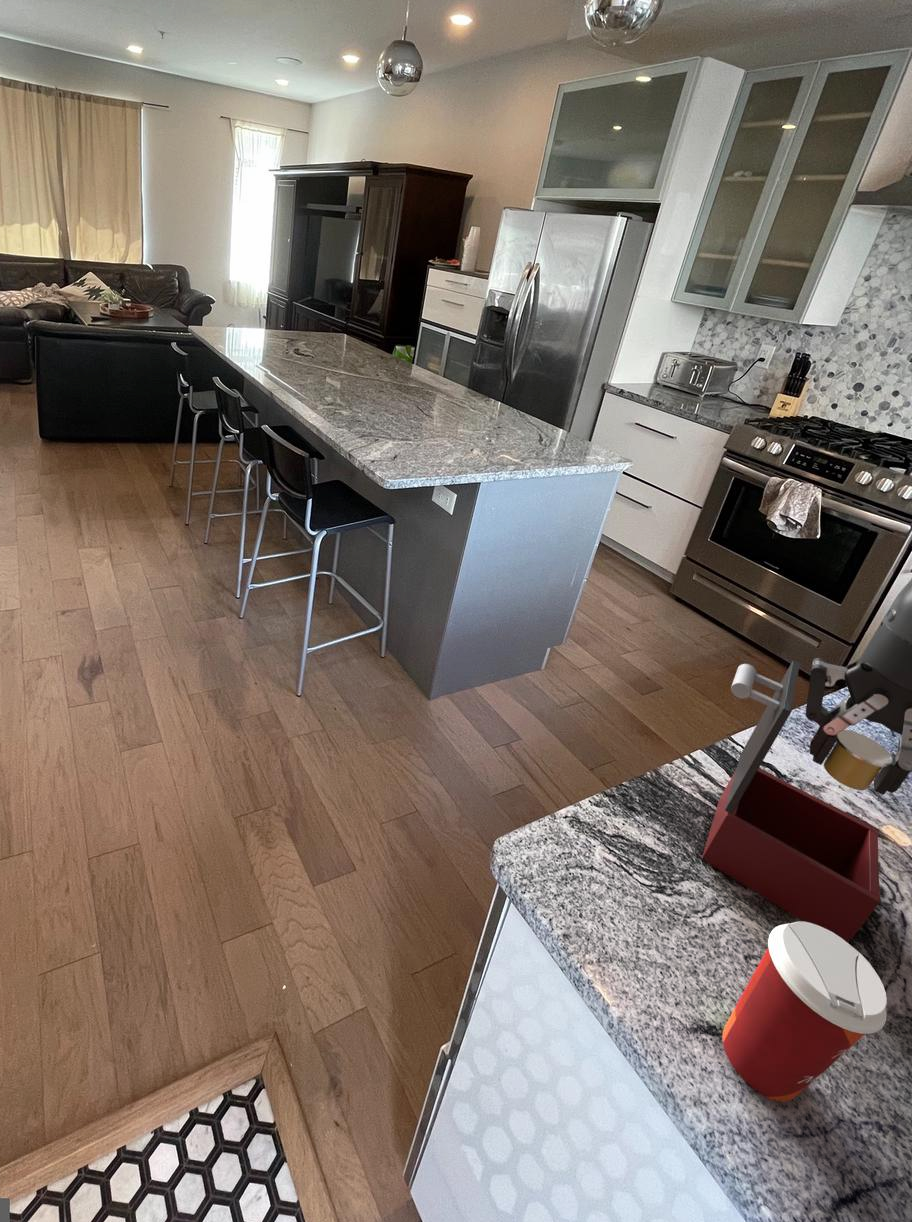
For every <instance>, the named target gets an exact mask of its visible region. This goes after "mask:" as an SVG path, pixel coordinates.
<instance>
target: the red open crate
mask: <svg viewBox="0 0 912 1222" xmlns="http://www.w3.org/2000/svg"><path fill="white" fill-rule="evenodd" d="M735 772H736V770H734V772H733V774H732V775H731V778H730V779H729V781H728V783H727V785H726V786H725V789H724V790H723V792H722V794H721V795H720V797H719V799H718V802H717V806H716V809H715V812H714V817H713V819H712V823H711V826H710V830H709V833H708V836H707V840H706V842H705V846H704V850H703V854H702V856H701V859H702V860H703V861H704V862H706V863H708V864H709V865H711V866H712V867H713V868H716V869H717V870H719V871H721V872H722V873H724V874H726V875H727V876H729V877H730V878H732V879H734V880H735V881H737V882H739V883H740V884H742V885H743V886H745V887H747V888H748V889H750V890H752V891H753V892H755V893H757V894H758V895H760V896H761V897H763V898H764V899H766V900H768V901H769V902H771V903H772V904H774V905H776V906H778V907H779V908H781V909H782V910H784V911H786V912H787V913H789V914H791V915H792V916H793V917H796V918H797V919H799V921H800V920H801V922H808V923H812V924H815V925H818V926H820V927H823V928H825V929H827V930H829V931H831V932H833V933H834V934H836V935H837V936H839V937H840V938H842V939H843V940H844V941H846V942H847V943H848V944H849V942H851V940H852V939H853V937H854V936H855V935H856V934H857V932H858V931H859V930H860V929H861V927H862V926H863V924H865V922H866V921H867V920H868V918H869V917H870V915H872V913H873V912H874V910H875V909H876V908H877V907H878V905H879V904H880V902H881V899H880V897H881V896H880V867H879V866H880V865H879V864H880V863H879V861H880V860H879V830H878V828H876V827H873V826H872V825H870V824H868V823H866V822H864V821H862V820H860V819H859V818H857V817H854V816H852V815H851V814H849V813H847V812H845V811H843V810H841V809H839V808H837V807H835V806H834V805H831V804H830V803H827V802H826V801H824V800H821V799H820V798H818V797H816V796H814V795H813V794H810V793H808V792H806V791H804V790H802V789H801V788H799V787H796V786H795V785H793V784H791V783H789V782H787V781H785V780H783V779H781V778H779V777H777V776H775V775H773V774H772V773H770V772H768V771H766V770H765V769H762V768H760V767H759V768H758V770H757V772H756V774H755V775H754V777H753V779H752V780H751V782H750V784H749V786H748V787H747V789H746V791H745V792H744V794H743V796H742V798H741V799H740V801H739V803H738V804H737V806H736V808H735V810H734V811H733V813H732V814H730V813H728V812H726V811H725V808H726V804H727V801H728V797H729V794H730V790H731V786H732V783H733V779H734V776H735Z"/></svg>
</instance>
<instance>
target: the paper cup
mask: <svg viewBox="0 0 912 1222" xmlns="http://www.w3.org/2000/svg"><path fill="white" fill-rule="evenodd" d="M749 979H750V980H749V981H748V983H747V985H746V986H745V989H744V990H743V992H742V994H741V996H740V998H739V999H738V1001H737V1003H736V1004H735V1007H734V1008H733V1011H732V1012H731V1014H730V1016H729V1018H728V1020H727V1022H726V1024H725V1025H724V1028H723V1030H722V1035H721V1036H722V1037H721V1038H722V1046H723V1048H724V1052H725V1054H726V1056H727V1059H728V1061H729V1062H730V1064H731V1066H732V1067H733V1069H734V1070H735V1071H736V1073H737V1074H738V1075H739V1076H740V1077H741V1079H742V1080H743V1081H744V1082H745V1083H746V1084H747V1085H748V1086H750V1087H751V1088H752V1089H753V1090H754V1091H755V1092H757V1093H758V1094H760V1095H762V1096H763V1097H765V1098H767V1099H769V1100H772V1101H775V1102H780V1103H781V1102H782V1103H785V1102H790V1101H791V1100H793V1099H794V1098H796V1097H797V1096H798V1095H799V1094H801V1092H803V1091H804V1090H805V1089H807V1088H808V1087H809V1086H810V1085H811V1084H812V1083H813V1082H814V1081H815V1080H816V1079H818V1078H819V1077H820V1076H821V1075H822V1074H823V1073H824V1072H826V1070H828V1069H829V1068H830V1067H831V1066H832V1065H834V1063H836V1061H838V1060H839V1059H840V1058H841V1057H842V1056H843V1055H844V1054H846V1052H848V1050H850V1049H851V1048H852V1047H853V1046H854V1045H855V1044H856V1043H858V1042H859V1041H860V1040H861V1039H862V1038H863V1037H864V1036H865V1035H869V1034H874V1033H877V1032H879V1031H881V1029H882V1028H883V1027H884V1026H885V1024H886V1021H887V1003H888V999H887V998H888V997H887V993H886V990H885V986H884V984H883V982H882V980H881V978H880V976H879V975H878V973H877V972H876V970H875V969H874V967H873V966H872V965H871V963H870V962H869V961H868V960H867V959H866V958H865V956H863V954H861V953H860V951H858V950H857V949H856V948H855V947H853V946H852V945H851V944H849V943H847V942H846V941H844V940H843V939H842V938H840V937H839V936H837V935H836V934H834V933H833V932H831V931H829V930H827V929H825V928H823V927H820V926H818V925H815V924H812V923H808V922H804V921H795V922H794V921H793V922H791V923H784V924H780V925H777V926H775V927H774V928H773V929H772V930H771V931H770V934H769V936H768V939H767V948H766V950H765V952H764V954H763V956H762V958H761V960H760V962H759V963H758V965H757V967H756V968H755V970H754V972H753V974H752V976H751V977H750V978H749Z"/></svg>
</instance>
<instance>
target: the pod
mask: <svg viewBox="0 0 912 1222" xmlns="http://www.w3.org/2000/svg"><path fill="white" fill-rule="evenodd" d="M891 764H892V756H891V754H890V752H889V751H888V750H887V749H886V748H885V747H884V746H882V745H881V744H880V743H879V742H877V741H876V740H874V739H872V738H871V737H868V736H867V735H865V734H862V733H861V732H857V731H854V730H849V729H844V730H843V731H841V732H840V733H838V737H837V741H836V743H835V744H834V746H833V747H832V749H831V751H830V752H829V754H828V755H827V757H826V759H825V760H824V762H823V767H824V770H825V772H826V773H827V774H828V775H829V776H830V777H831V778H833V780H835V781H837V782H838V783H839V784H841V785H844V786H845V787H847V788H850V789H852V790H856V791H866V790H868V789H869V787H870V786H871V784H872V782H874V780H875V778H876V776H877V775H878V773H879V772H880V770H881V769H882V767H888V766H890V765H891Z"/></svg>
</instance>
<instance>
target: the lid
mask: <svg viewBox="0 0 912 1222" xmlns="http://www.w3.org/2000/svg"><path fill="white" fill-rule="evenodd" d="M800 666H801V663H800V662H797V661H796V660H792V661H791V663H790V665H789V667H788V669H787V670H786V672H785V674H784V675H783V677H782V679H781V681H780V682H777V681H776V680H772V679H770V678H768V677H767V676H764V675H761V674H759V673H757V669H756V668H755V667H754V666H753V665H752V664H748V663H742V664H740V665H739V666H738V667H737V669H736V672H735V675H734V678H733V680H732V684H731V687H730V691H731V694H732V695H733V696H735V697H736V698H738V699H748V698H750V699H751V700H753V701H756V702H758V703H761V704H763V705H764V706H766V708H765V709H764V712H763V713H762V715H761V716H760V718H759V720H758V722H757V724H756V726H755V727H754V728H753V731H752V732H751V735H750V737H749V738H748V740H747V741H746V744H745V745H744V747H743V749H742V751H741V752H740V754H739V757H738V762H737V764H736V769H735V771H736V772H735V771H734V772H735V776H734V779H733V783H732V786H731V790H730V794H729V797H728V801H727V804H726V808H725V811H726V812H728V813H730V814H732V813H733V811H734V810H735V808H736V806H737V804H738V803H739V801H740V799H741V798H742V796H743V794H744V792H745V791H746V789H747V787H748V786H749V784H750V782H751V780H752V779H753V777H754V775H755V774H756V772H757V770H758V768H760V767H761V765H762V764H763V761H765V758H766V757H767V755H768V753H769V751H770V750H771V748H772V747H773V745H774V743H775V741H776V739H777V738H778V736H779V735H780V732H781V731H782V729H783V727H784V726H785V724H786V722H787V721H788V719H789V717H790V716H791V714H792V710H793V704H794V699H795V693H796V688H797V682H798V676H799V671H800ZM755 682H756V683H757V684H760V685H762V686H765V687H767V688H769V689H771V690H773V691H775V692H774V693H773V695H772V697H770V696H769V695H766V694H764V693H761V692H760V691H757V690H755V689H753V687H754V684H755Z"/></svg>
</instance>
